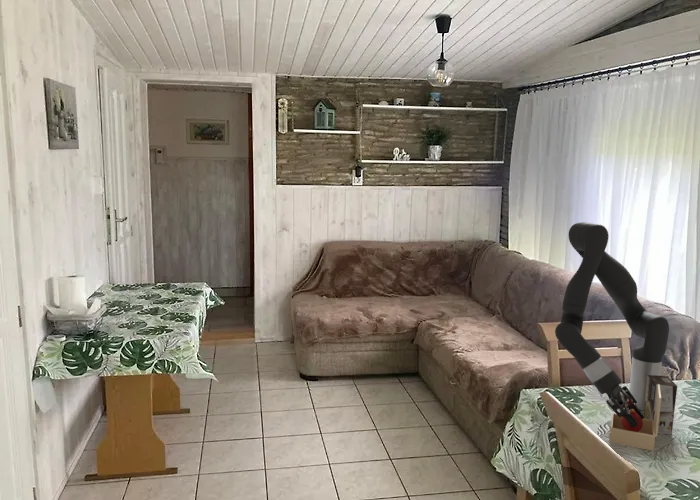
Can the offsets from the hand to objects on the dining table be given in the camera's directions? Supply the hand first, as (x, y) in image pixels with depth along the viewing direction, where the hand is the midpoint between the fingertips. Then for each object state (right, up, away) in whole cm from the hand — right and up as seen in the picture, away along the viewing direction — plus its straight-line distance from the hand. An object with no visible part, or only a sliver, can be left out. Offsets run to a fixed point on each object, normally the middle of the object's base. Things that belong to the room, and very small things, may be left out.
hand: (638, 422), depth 177 cm
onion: (-1, -4, +2) cm, 5 cm away
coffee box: (+11, -5, +9) cm, 15 cm away
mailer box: (-1, -5, +2) cm, 6 cm away
